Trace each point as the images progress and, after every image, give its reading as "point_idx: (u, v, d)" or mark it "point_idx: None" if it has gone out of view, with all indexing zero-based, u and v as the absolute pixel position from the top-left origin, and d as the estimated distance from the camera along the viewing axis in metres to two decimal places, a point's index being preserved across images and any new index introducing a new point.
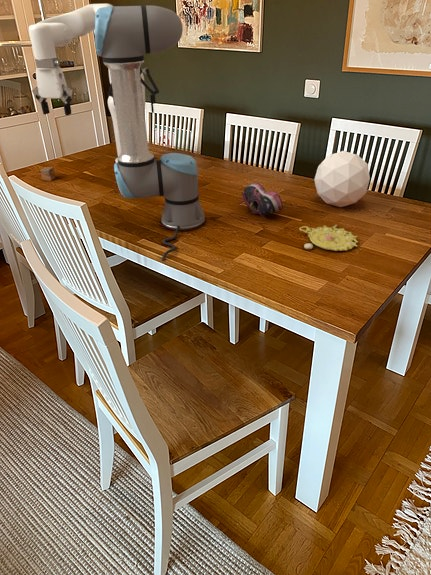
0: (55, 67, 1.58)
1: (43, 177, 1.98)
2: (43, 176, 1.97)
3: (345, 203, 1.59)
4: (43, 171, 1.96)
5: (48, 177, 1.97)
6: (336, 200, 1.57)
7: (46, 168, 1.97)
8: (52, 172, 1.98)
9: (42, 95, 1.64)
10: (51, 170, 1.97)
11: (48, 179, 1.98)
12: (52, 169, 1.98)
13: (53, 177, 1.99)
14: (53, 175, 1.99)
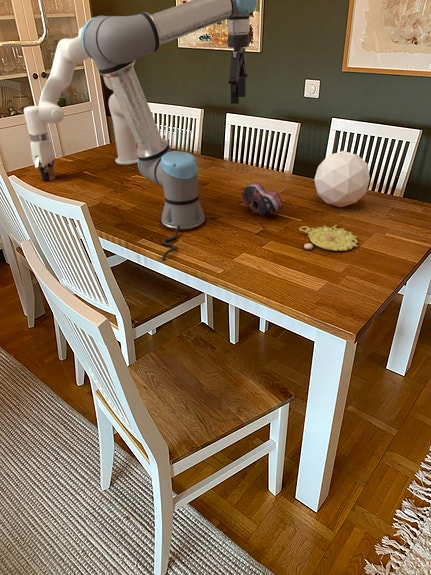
0: None
1: None
2: None
3: (345, 203, 1.59)
4: None
5: None
6: (336, 200, 1.57)
7: (46, 168, 1.97)
8: (52, 172, 1.98)
9: (45, 163, 1.92)
10: (51, 170, 1.97)
11: None
12: (52, 169, 1.98)
13: (53, 177, 1.99)
14: (53, 175, 1.99)
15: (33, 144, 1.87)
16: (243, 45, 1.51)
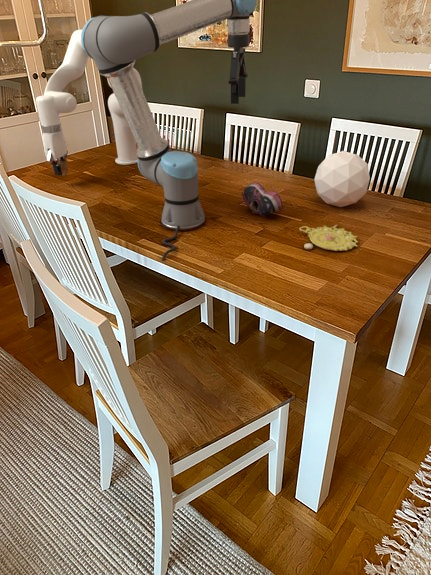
0: None
1: None
2: None
3: (345, 203, 1.59)
4: None
5: None
6: (336, 200, 1.57)
7: None
8: (65, 166, 1.87)
9: (57, 156, 1.81)
10: (64, 164, 1.86)
11: None
12: (65, 163, 1.87)
13: (65, 171, 1.88)
14: (66, 169, 1.88)
15: (45, 136, 1.76)
16: (243, 45, 1.51)
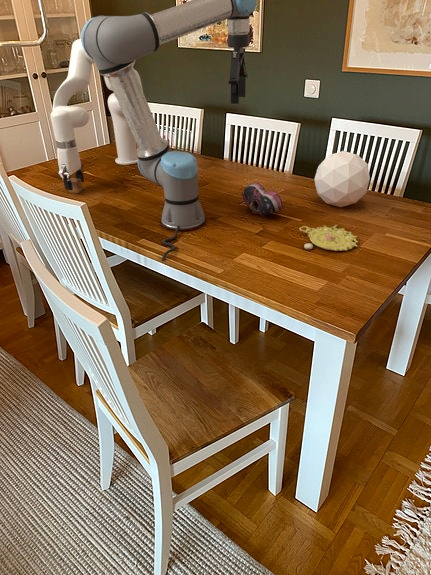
0: None
1: None
2: None
3: (345, 203, 1.59)
4: None
5: (75, 190, 1.83)
6: (336, 200, 1.57)
7: (73, 179, 1.83)
8: (79, 184, 1.84)
9: (72, 172, 1.77)
10: (78, 182, 1.83)
11: (75, 191, 1.83)
12: (79, 180, 1.84)
13: (80, 189, 1.85)
14: (80, 187, 1.85)
15: (60, 152, 1.72)
16: (243, 45, 1.51)
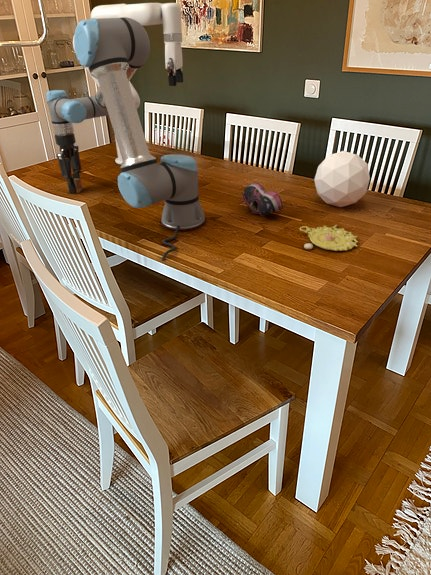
0: None
1: None
2: None
3: (345, 203, 1.59)
4: None
5: None
6: (336, 200, 1.57)
7: None
8: (79, 184, 1.84)
9: (177, 67, 1.84)
10: (78, 182, 1.83)
11: None
12: (79, 181, 1.84)
13: (80, 189, 1.85)
14: (80, 187, 1.85)
15: (168, 44, 1.79)
16: (67, 144, 1.72)
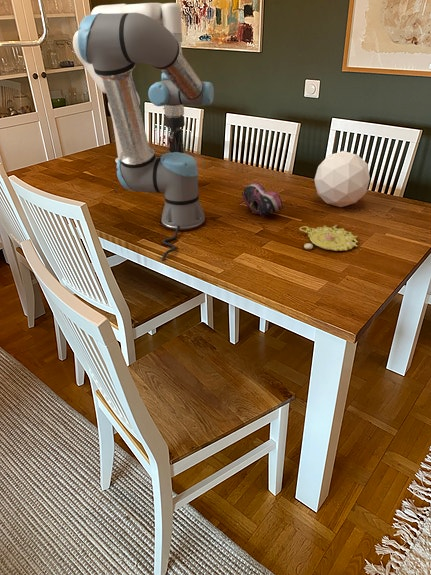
0: None
1: None
2: None
3: (345, 203, 1.59)
4: None
5: None
6: (336, 200, 1.57)
7: None
8: None
9: None
10: None
11: None
12: None
13: None
14: None
15: None
16: (178, 126, 1.69)
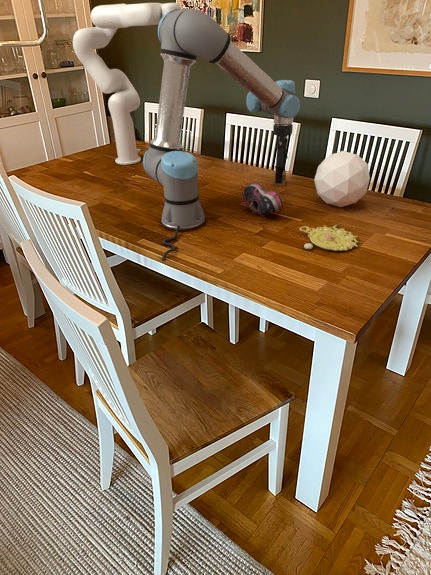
0: None
1: None
2: None
3: (345, 203, 1.59)
4: None
5: (282, 182, 1.84)
6: (336, 200, 1.57)
7: None
8: (285, 176, 1.85)
9: None
10: (285, 174, 1.84)
11: (281, 184, 1.84)
12: (285, 173, 1.84)
13: (285, 181, 1.86)
14: (285, 180, 1.86)
15: None
16: (287, 134, 1.72)
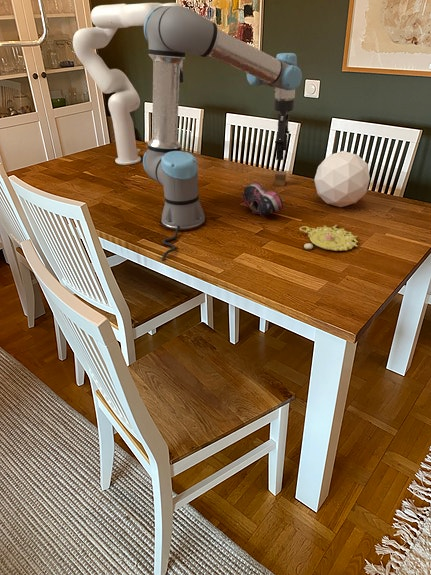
0: None
1: (276, 182, 1.84)
2: (276, 181, 1.84)
3: (345, 203, 1.59)
4: (278, 175, 1.83)
5: (282, 182, 1.84)
6: (336, 200, 1.57)
7: (280, 172, 1.84)
8: (285, 176, 1.85)
9: None
10: (285, 174, 1.84)
11: (281, 184, 1.84)
12: (285, 173, 1.84)
13: (285, 181, 1.86)
14: (285, 180, 1.86)
15: None
16: (289, 109, 1.67)
